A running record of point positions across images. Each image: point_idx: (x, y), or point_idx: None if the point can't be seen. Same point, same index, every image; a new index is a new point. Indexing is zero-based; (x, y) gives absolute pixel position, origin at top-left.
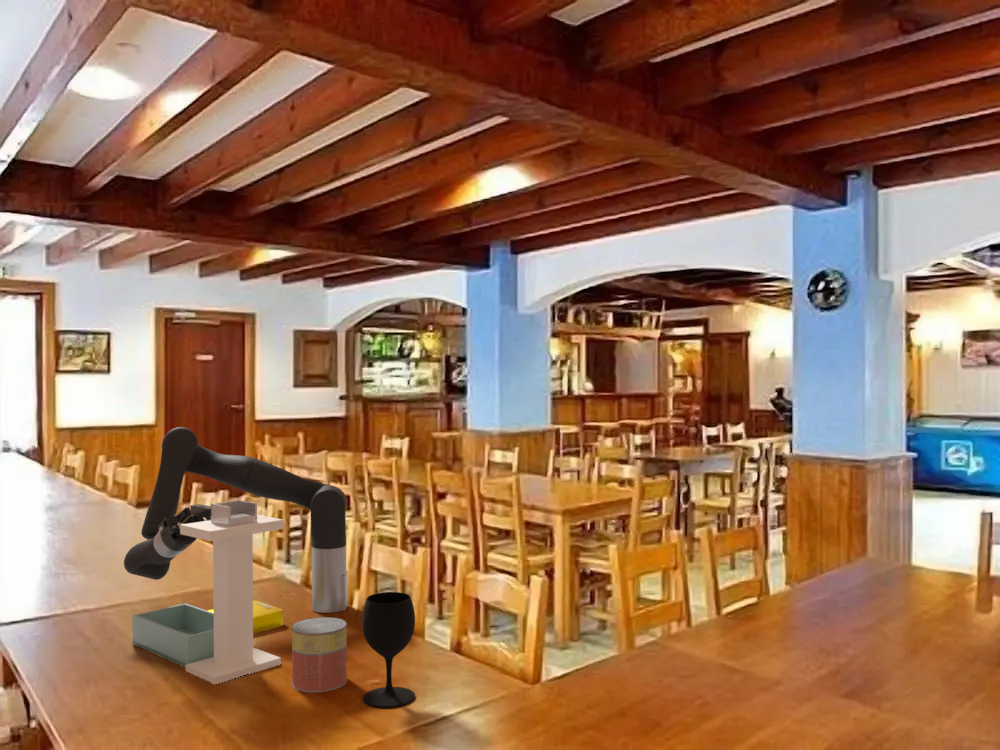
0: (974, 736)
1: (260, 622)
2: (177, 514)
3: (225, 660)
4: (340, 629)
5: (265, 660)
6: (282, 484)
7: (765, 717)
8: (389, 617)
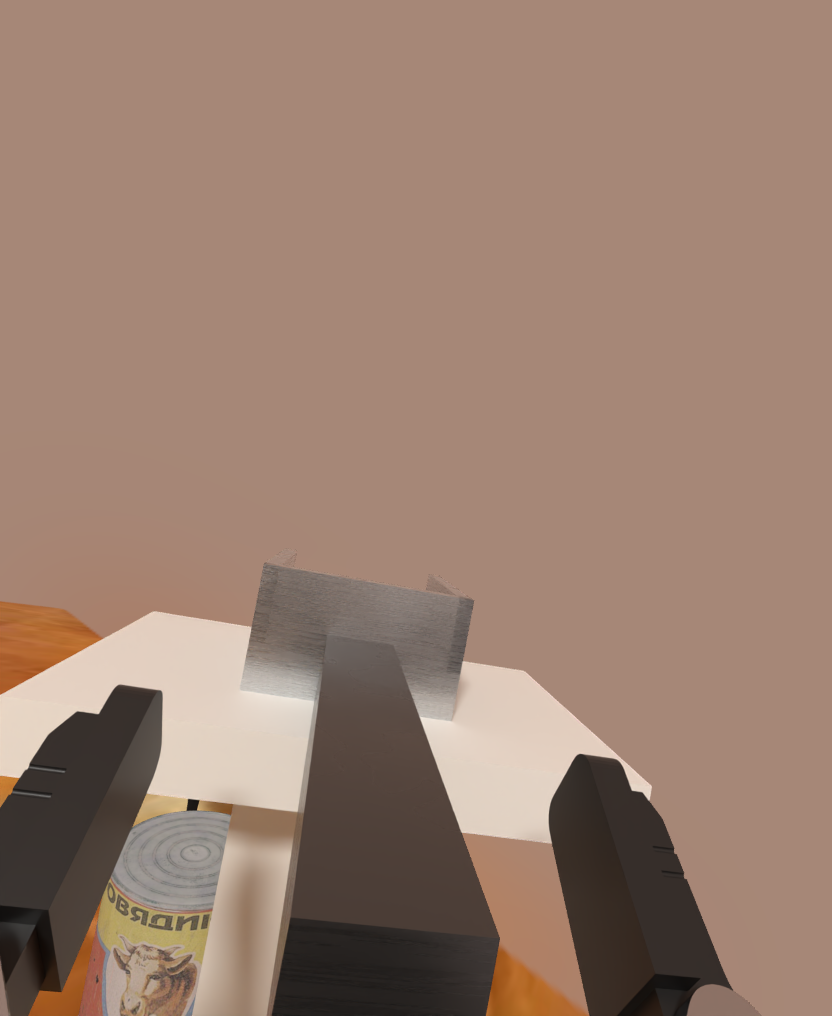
0: (58, 610)
1: None
2: (725, 999)
3: None
4: (198, 811)
5: None
6: None
7: (64, 652)
8: None
